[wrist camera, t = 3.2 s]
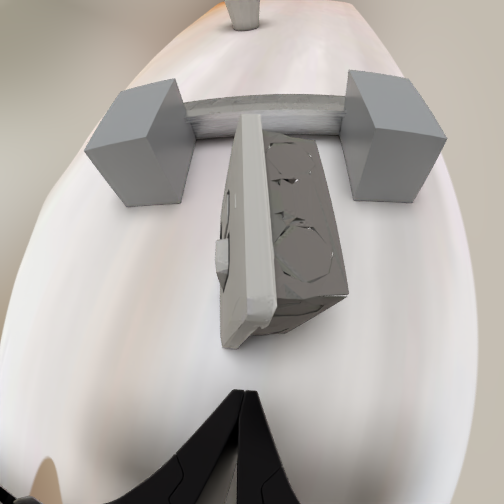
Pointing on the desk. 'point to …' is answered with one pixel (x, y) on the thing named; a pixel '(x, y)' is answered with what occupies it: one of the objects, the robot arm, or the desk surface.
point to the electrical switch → (275, 236)
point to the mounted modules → (351, 135)
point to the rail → (267, 114)
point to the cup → (243, 14)
